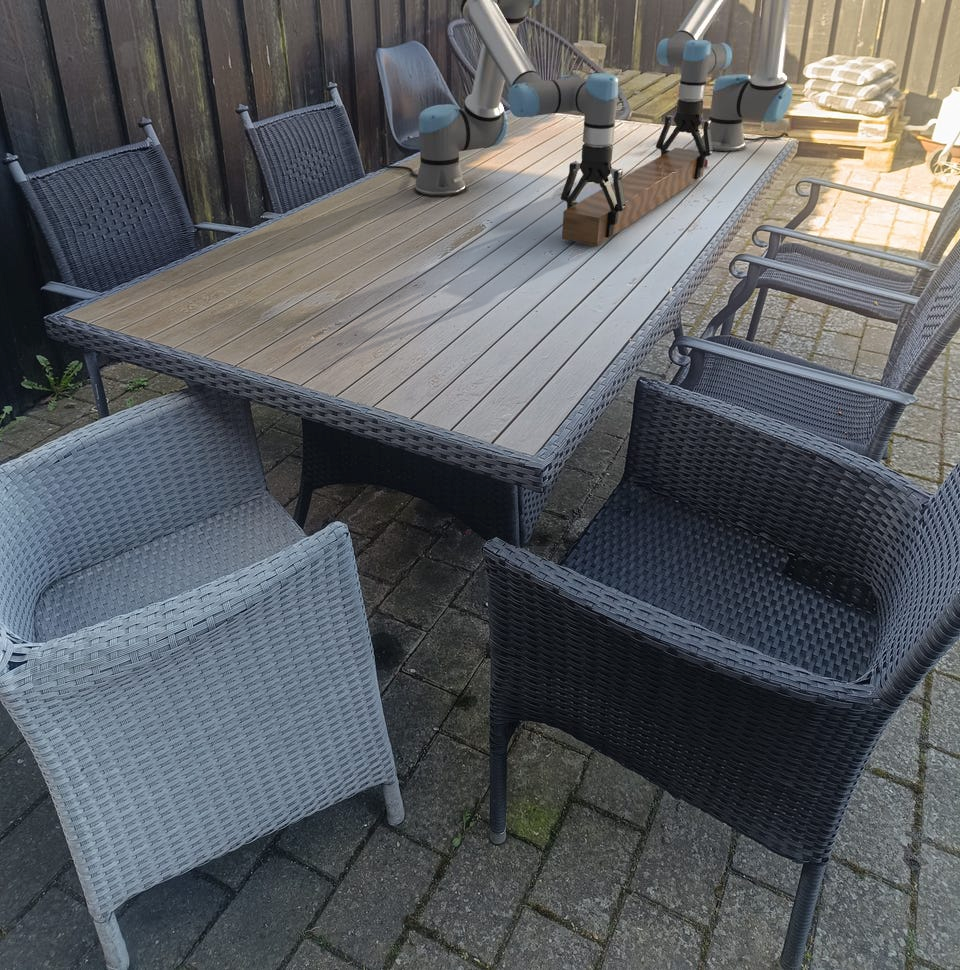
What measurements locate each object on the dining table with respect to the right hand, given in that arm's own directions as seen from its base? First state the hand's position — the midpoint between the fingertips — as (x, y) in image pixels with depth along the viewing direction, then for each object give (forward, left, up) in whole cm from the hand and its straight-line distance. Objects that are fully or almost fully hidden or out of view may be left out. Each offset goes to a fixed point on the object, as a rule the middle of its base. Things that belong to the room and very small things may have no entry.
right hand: (680, 175), depth 263 cm
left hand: (+57, +25, 0) cm, 62 cm away
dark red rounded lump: (-18, -11, -2) cm, 21 cm away
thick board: (+28, +13, -1) cm, 31 cm away
